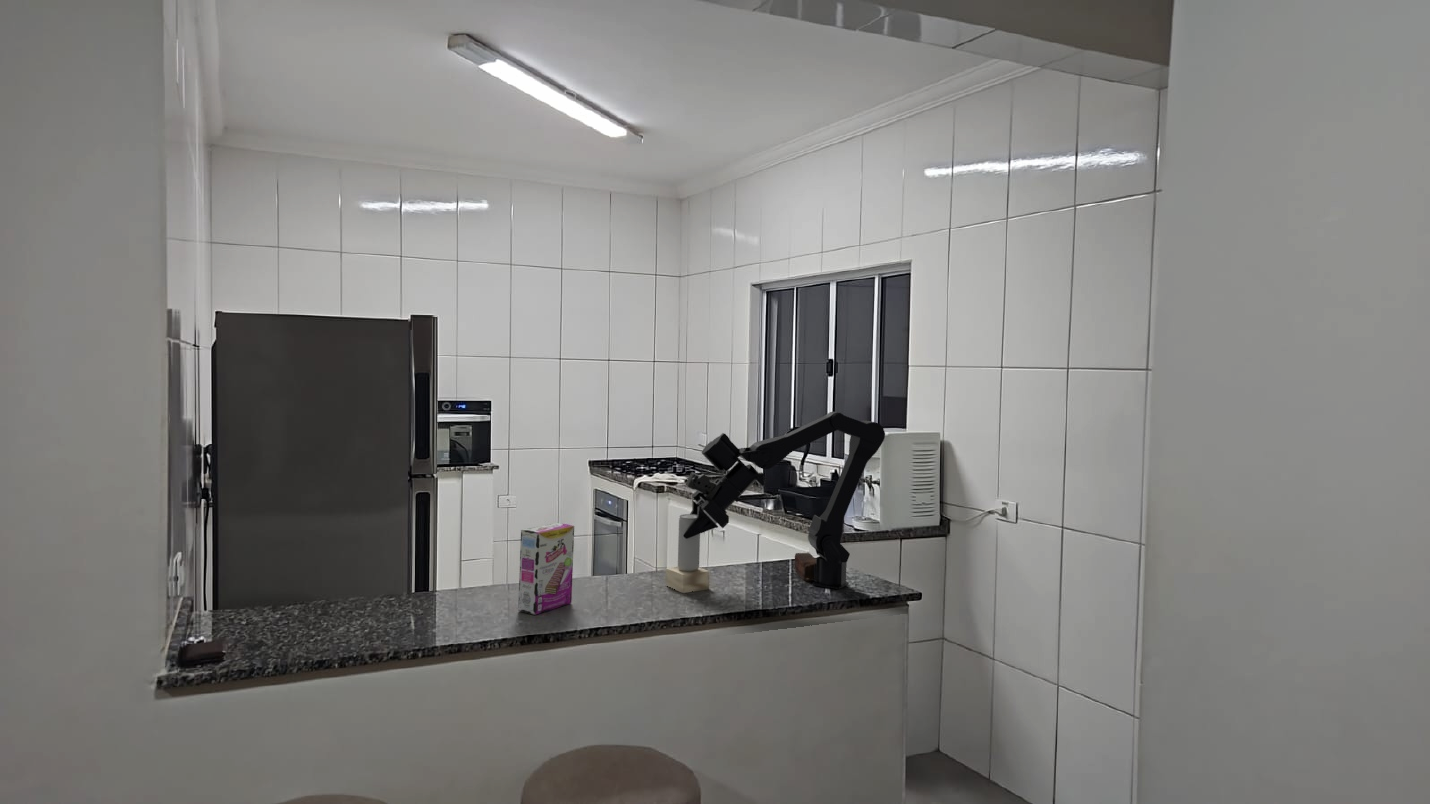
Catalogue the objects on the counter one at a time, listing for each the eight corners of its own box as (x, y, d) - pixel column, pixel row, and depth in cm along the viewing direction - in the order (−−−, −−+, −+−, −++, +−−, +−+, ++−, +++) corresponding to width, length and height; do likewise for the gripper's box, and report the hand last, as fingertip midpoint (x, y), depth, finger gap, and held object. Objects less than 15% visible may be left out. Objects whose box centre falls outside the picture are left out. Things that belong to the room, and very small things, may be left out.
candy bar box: (536, 616, 172) (538, 532, 172) (517, 611, 175) (518, 529, 174) (573, 603, 182) (575, 524, 181) (555, 599, 184) (556, 521, 184)
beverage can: (679, 565, 200) (680, 513, 199) (700, 567, 200) (701, 514, 199) (676, 571, 195) (677, 517, 194) (697, 572, 195) (699, 518, 194)
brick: (793, 571, 216) (794, 552, 216) (809, 571, 217) (810, 552, 217) (804, 582, 206) (804, 562, 206) (820, 582, 206) (821, 562, 206)
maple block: (691, 582, 202) (691, 564, 202) (709, 588, 197) (709, 571, 196) (665, 585, 198) (665, 568, 198) (682, 593, 192) (683, 574, 192)
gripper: (701, 455, 206) (653, 503, 205) (715, 465, 188) (662, 517, 186) (734, 489, 208) (686, 536, 206) (750, 501, 189) (698, 553, 188)
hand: (682, 534), depth 197 cm, fingers open, 5 cm apart
